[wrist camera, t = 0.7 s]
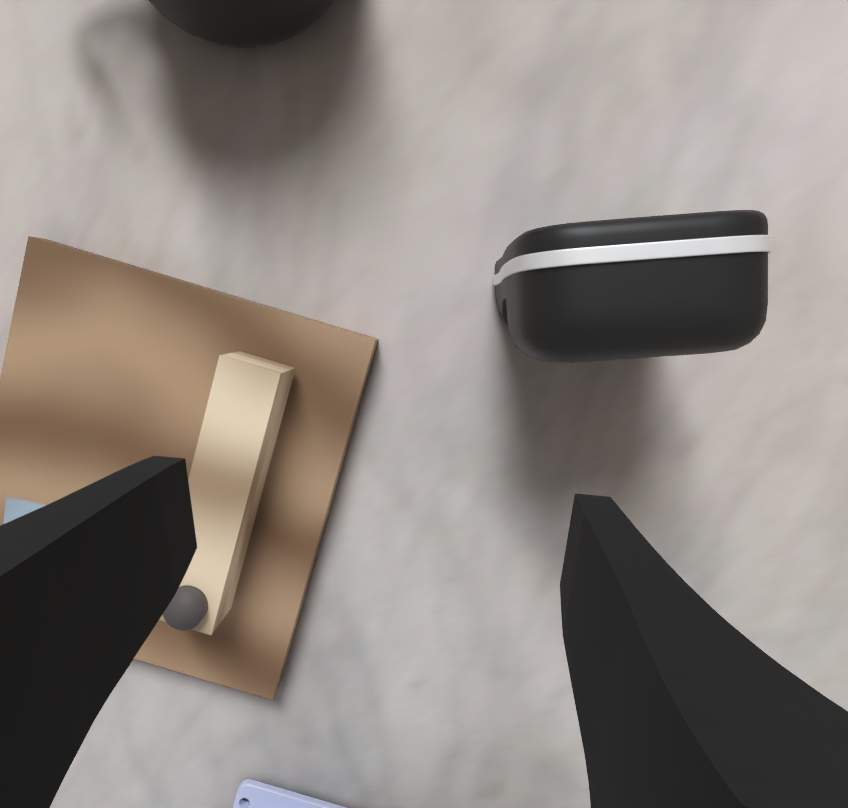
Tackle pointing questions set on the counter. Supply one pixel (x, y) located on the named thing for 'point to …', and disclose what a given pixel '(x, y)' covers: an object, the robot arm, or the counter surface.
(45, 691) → the robot arm
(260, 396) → the leg
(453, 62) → the counter surface
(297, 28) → the mug
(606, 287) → the battery charger
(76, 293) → the board
